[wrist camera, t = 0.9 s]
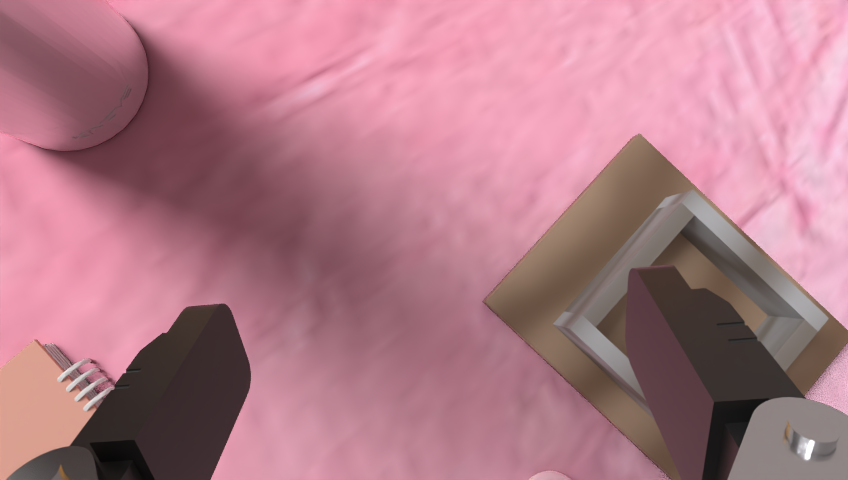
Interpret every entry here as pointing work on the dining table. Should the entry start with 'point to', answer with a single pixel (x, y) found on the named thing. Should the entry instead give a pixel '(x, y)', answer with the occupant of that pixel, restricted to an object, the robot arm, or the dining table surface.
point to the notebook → (42, 404)
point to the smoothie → (549, 476)
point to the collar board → (642, 247)
